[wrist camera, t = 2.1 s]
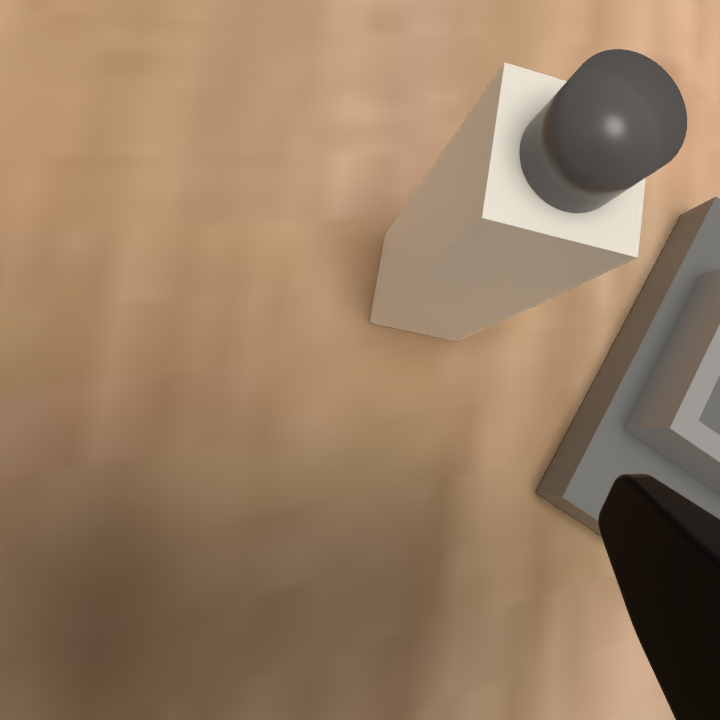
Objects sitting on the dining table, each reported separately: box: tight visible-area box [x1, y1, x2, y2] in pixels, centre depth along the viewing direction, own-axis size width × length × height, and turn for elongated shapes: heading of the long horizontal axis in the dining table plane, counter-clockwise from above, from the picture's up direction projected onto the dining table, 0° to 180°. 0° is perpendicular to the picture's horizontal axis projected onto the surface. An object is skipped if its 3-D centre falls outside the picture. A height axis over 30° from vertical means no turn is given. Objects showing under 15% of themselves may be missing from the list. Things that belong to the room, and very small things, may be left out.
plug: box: [369, 49, 687, 342], centre depth 17 cm, size 4×4×13 cm
